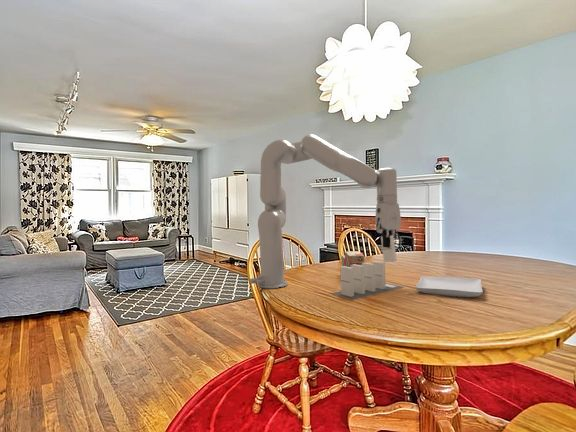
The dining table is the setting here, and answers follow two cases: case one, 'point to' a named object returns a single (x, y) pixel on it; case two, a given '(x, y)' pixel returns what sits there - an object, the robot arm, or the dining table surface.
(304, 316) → the dining table surface
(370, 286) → the domino
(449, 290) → the salad plate
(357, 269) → the domino
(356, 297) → the domino mat
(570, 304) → the dining table surface
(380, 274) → the domino
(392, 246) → the domino
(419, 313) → the dining table surface
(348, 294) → the domino
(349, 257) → the cardboard box
